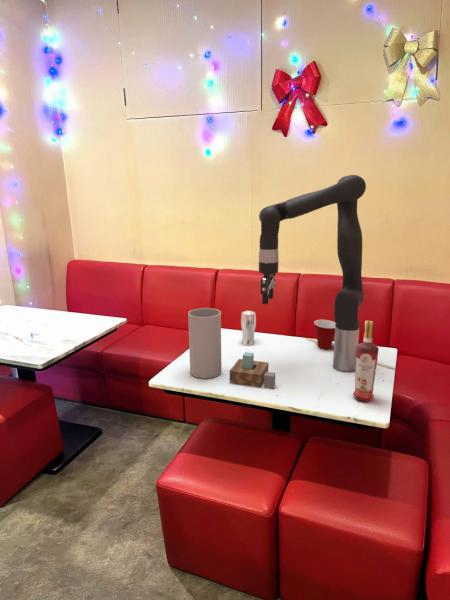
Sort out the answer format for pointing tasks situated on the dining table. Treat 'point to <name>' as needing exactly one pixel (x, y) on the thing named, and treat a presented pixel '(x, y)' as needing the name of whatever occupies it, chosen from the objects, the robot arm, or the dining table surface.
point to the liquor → (365, 365)
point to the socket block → (248, 374)
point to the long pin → (248, 361)
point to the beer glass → (248, 327)
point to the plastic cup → (325, 333)
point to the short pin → (269, 380)
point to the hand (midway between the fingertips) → (267, 301)
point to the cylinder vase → (205, 342)
